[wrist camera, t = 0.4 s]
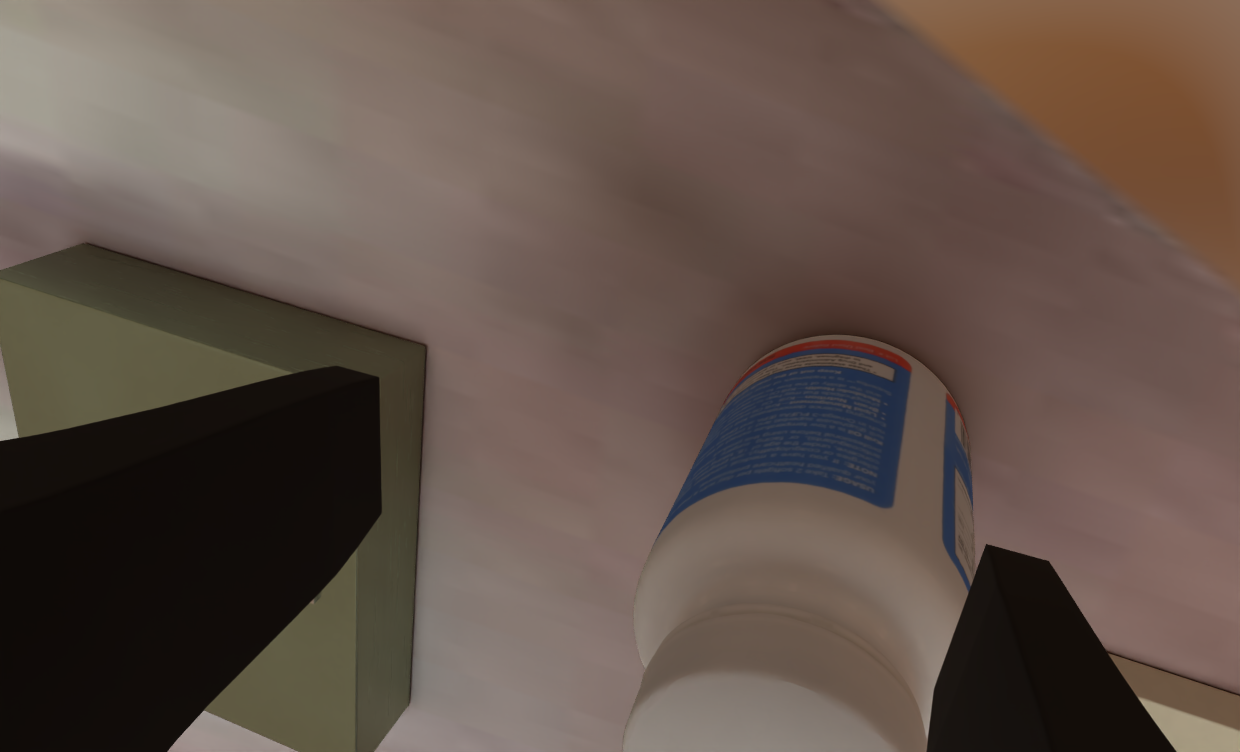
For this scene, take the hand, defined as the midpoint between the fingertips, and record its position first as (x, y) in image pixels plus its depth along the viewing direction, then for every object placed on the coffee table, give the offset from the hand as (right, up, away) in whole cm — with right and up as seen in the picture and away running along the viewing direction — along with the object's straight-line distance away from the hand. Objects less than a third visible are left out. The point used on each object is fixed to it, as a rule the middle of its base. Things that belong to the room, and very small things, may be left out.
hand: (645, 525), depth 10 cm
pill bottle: (+5, 0, +10) cm, 11 cm away
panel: (-11, -2, +17) cm, 20 cm away
